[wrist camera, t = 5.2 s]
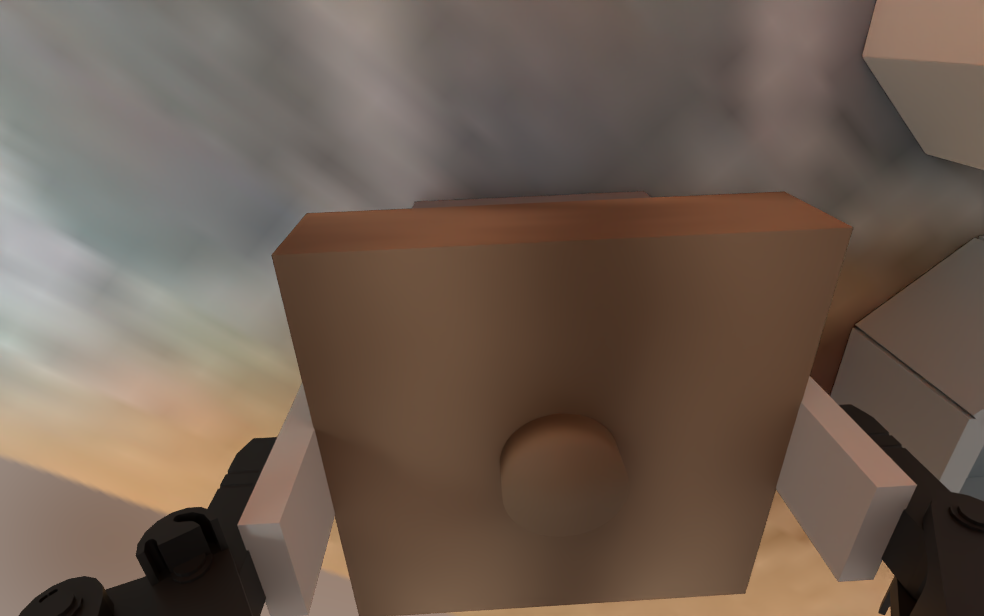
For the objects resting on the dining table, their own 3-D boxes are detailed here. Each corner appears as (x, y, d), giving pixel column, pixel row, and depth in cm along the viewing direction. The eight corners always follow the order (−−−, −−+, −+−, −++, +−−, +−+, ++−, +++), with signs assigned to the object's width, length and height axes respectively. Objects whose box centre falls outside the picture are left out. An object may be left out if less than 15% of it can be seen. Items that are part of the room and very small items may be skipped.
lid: (373, 542, 17) (352, 654, 14) (306, 213, 12) (252, 277, 9) (710, 522, 18) (762, 628, 14) (784, 191, 12) (890, 247, 9)
